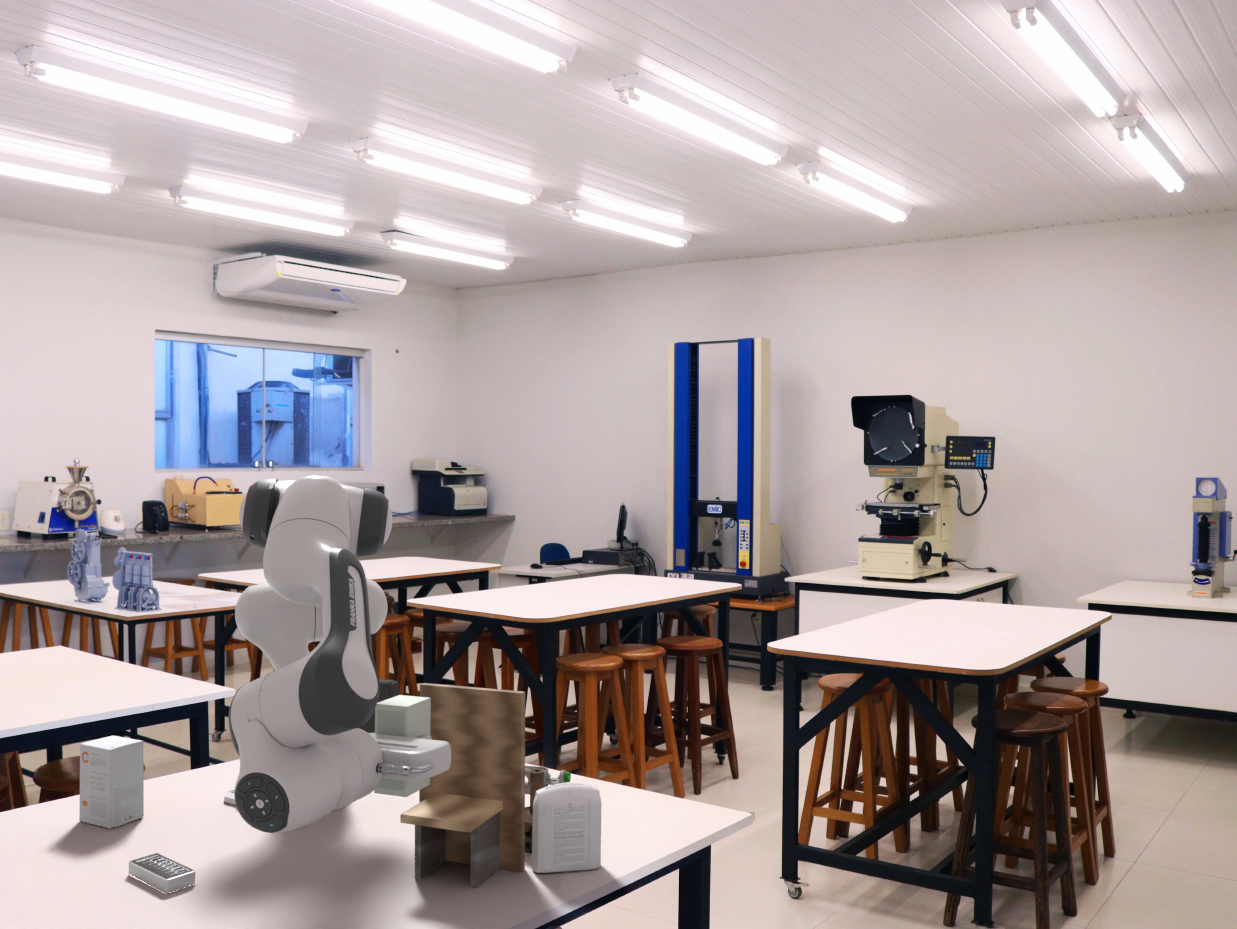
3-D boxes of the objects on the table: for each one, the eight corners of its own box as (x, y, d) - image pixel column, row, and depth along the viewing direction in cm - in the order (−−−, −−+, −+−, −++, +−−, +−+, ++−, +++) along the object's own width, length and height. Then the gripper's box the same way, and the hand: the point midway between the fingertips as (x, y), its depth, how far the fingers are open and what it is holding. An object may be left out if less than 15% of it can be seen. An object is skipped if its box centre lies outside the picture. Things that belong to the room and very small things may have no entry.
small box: (144, 817, 167) (144, 740, 167) (110, 830, 161) (110, 749, 161) (112, 810, 170) (113, 734, 170) (78, 821, 165) (78, 743, 165)
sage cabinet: (374, 793, 134) (374, 703, 134) (398, 780, 139) (399, 694, 140) (406, 797, 132) (406, 706, 132) (429, 784, 138) (430, 697, 138)
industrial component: (511, 840, 157) (511, 764, 157) (557, 837, 158) (557, 761, 158) (516, 863, 148) (516, 782, 148) (564, 860, 149) (564, 780, 149)
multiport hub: (166, 897, 136) (166, 880, 137) (127, 877, 143) (127, 861, 143) (196, 886, 140) (196, 870, 140) (157, 867, 147) (157, 852, 147)
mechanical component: (567, 836, 159) (567, 773, 159) (505, 831, 161) (505, 769, 161) (571, 829, 161) (571, 768, 162) (511, 825, 164) (511, 764, 164)
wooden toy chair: (381, 882, 141) (382, 698, 141) (423, 853, 151) (423, 682, 151) (489, 900, 135) (489, 708, 135) (524, 869, 145) (525, 691, 146)
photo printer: (597, 859, 149) (598, 777, 149) (604, 870, 145) (604, 785, 145) (529, 865, 147) (530, 781, 147) (534, 876, 143) (534, 790, 143)
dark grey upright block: (401, 751, 206) (401, 679, 206) (393, 756, 202) (393, 683, 203) (359, 748, 208) (360, 677, 208) (351, 754, 204) (351, 681, 204)
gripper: (419, 748, 120) (473, 722, 133) (280, 732, 127) (345, 709, 140) (418, 800, 120) (473, 769, 133) (279, 782, 127) (345, 754, 140)
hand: (406, 738), depth 137 cm, fingers closed on sage cabinet, 5 cm apart
